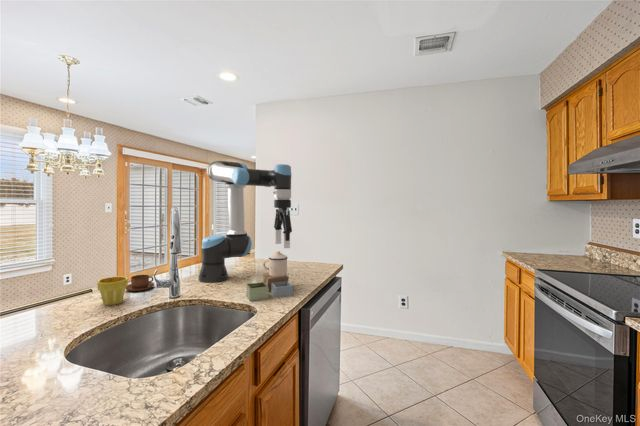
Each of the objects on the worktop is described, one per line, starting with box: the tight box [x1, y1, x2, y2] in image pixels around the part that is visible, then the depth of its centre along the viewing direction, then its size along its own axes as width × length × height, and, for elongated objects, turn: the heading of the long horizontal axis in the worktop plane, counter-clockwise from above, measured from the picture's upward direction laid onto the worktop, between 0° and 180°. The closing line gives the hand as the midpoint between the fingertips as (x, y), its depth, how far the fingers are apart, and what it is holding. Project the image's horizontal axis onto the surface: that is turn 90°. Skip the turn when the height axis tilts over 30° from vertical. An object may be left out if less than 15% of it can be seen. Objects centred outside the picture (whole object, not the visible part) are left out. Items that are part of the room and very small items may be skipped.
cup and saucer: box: [125, 274, 155, 292], centre depth 143 cm, size 12×12×6 cm
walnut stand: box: [262, 272, 290, 293], centre depth 145 cm, size 10×10×7 cm
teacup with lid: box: [262, 250, 288, 277], centre depth 145 cm, size 12×9×12 cm
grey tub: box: [270, 281, 294, 298], centre depth 136 cm, size 8×8×5 cm
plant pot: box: [96, 275, 129, 306], centre depth 124 cm, size 10×10×10 cm
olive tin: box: [246, 281, 269, 303], centre depth 131 cm, size 8×8×6 cm
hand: (282, 245), depth 135 cm, fingers open, 13 cm apart
